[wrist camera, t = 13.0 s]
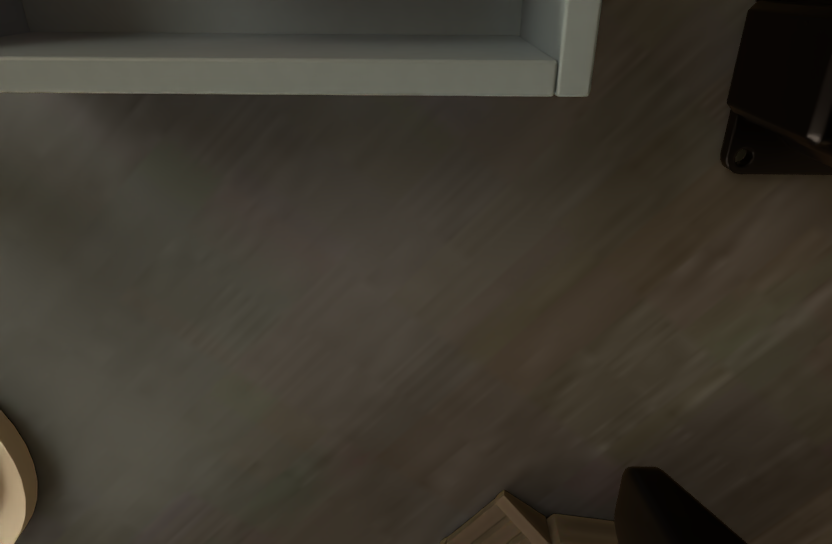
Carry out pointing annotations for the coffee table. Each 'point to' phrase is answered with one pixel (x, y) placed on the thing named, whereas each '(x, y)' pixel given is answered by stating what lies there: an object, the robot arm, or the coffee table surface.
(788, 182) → the coffee table surface
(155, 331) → the coffee table surface
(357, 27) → the bin
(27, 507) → the monster figurine
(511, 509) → the model
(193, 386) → the coffee table surface
